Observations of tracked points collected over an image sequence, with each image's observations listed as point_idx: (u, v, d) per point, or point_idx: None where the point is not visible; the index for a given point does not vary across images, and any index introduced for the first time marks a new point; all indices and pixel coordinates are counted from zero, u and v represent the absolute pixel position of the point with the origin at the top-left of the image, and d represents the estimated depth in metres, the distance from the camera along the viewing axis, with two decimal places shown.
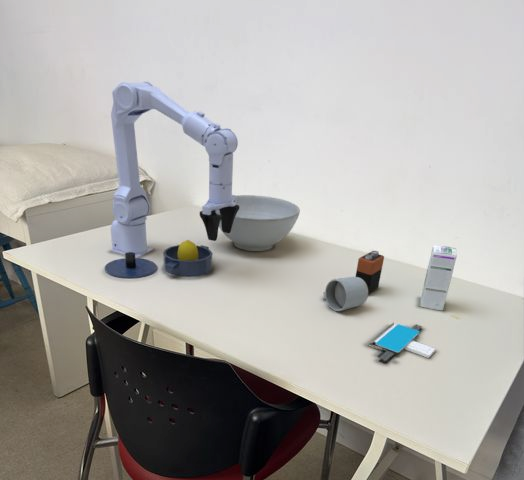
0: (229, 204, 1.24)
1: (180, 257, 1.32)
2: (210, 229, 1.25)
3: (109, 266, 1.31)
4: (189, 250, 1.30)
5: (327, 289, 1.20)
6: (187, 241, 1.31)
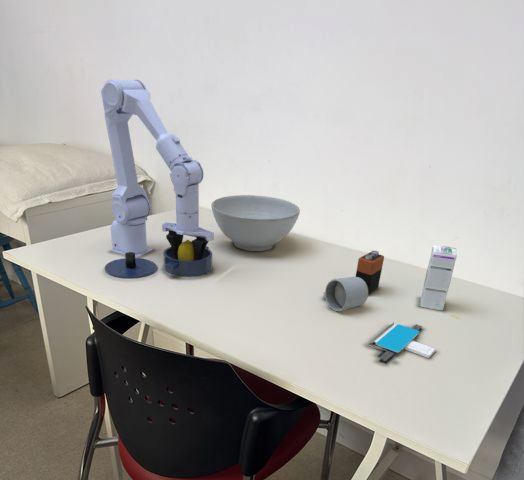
0: None
1: (180, 257, 1.32)
2: None
3: (109, 266, 1.31)
4: (189, 250, 1.30)
5: (327, 289, 1.20)
6: (187, 241, 1.31)
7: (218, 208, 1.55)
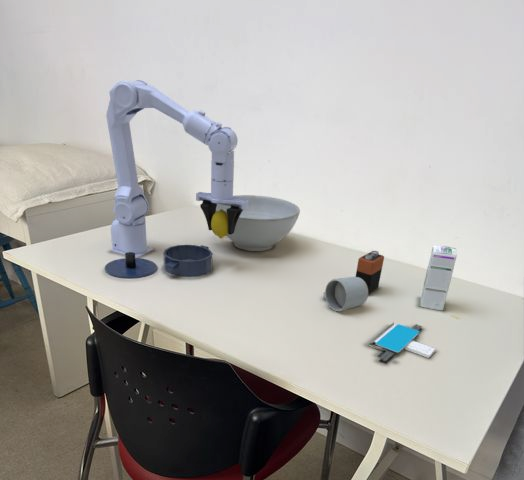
0: (212, 199, 1.28)
1: (214, 226, 1.32)
2: None
3: (109, 266, 1.31)
4: (223, 219, 1.31)
5: (327, 289, 1.20)
6: (221, 210, 1.31)
7: (218, 208, 1.55)
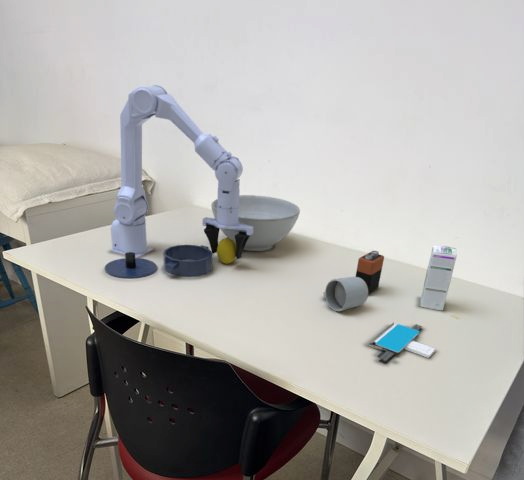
0: None
1: (220, 254, 1.37)
2: None
3: (109, 266, 1.31)
4: (228, 247, 1.35)
5: (327, 289, 1.20)
6: (227, 238, 1.36)
7: None
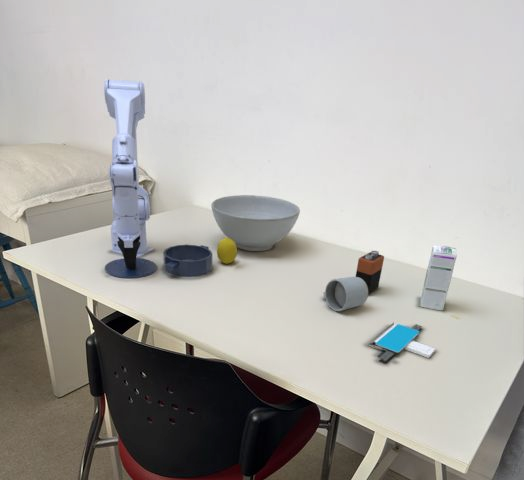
0: None
1: (220, 254, 1.37)
2: None
3: (109, 266, 1.31)
4: (228, 247, 1.35)
5: (327, 289, 1.20)
6: (227, 238, 1.36)
7: (218, 208, 1.55)
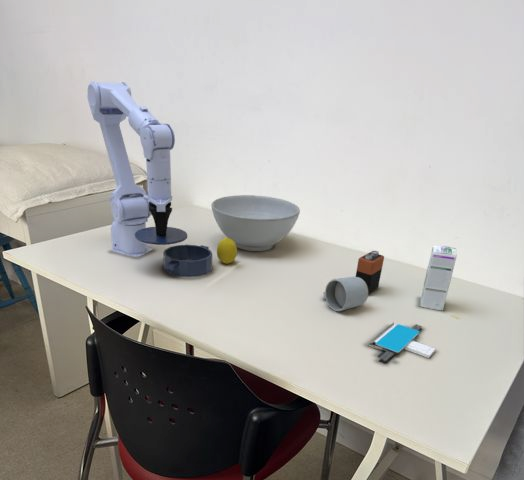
0: None
1: (220, 254, 1.37)
2: None
3: (139, 233, 1.28)
4: (228, 247, 1.35)
5: (327, 289, 1.20)
6: (227, 238, 1.36)
7: (218, 208, 1.55)
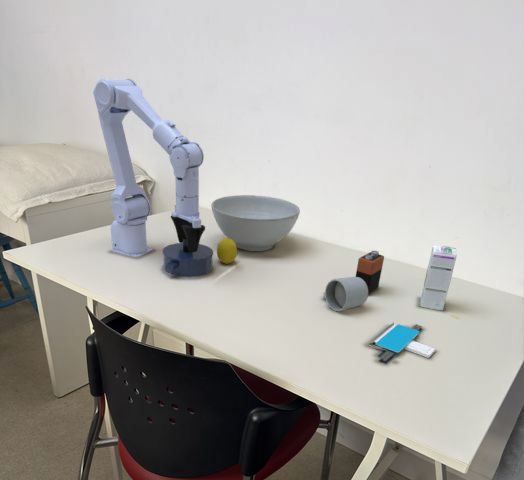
0: None
1: (220, 254, 1.37)
2: None
3: (167, 252, 1.31)
4: (228, 247, 1.35)
5: (327, 289, 1.20)
6: (227, 238, 1.36)
7: (218, 208, 1.55)
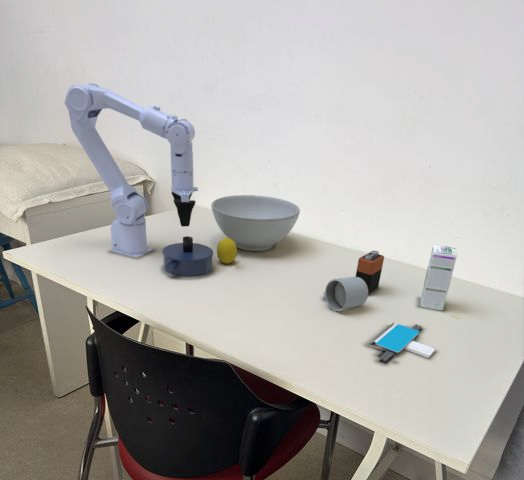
0: (195, 189, 1.33)
1: (220, 254, 1.37)
2: (183, 216, 1.33)
3: (167, 252, 1.31)
4: (229, 247, 1.35)
5: (327, 289, 1.20)
6: (227, 238, 1.36)
7: (218, 208, 1.55)
